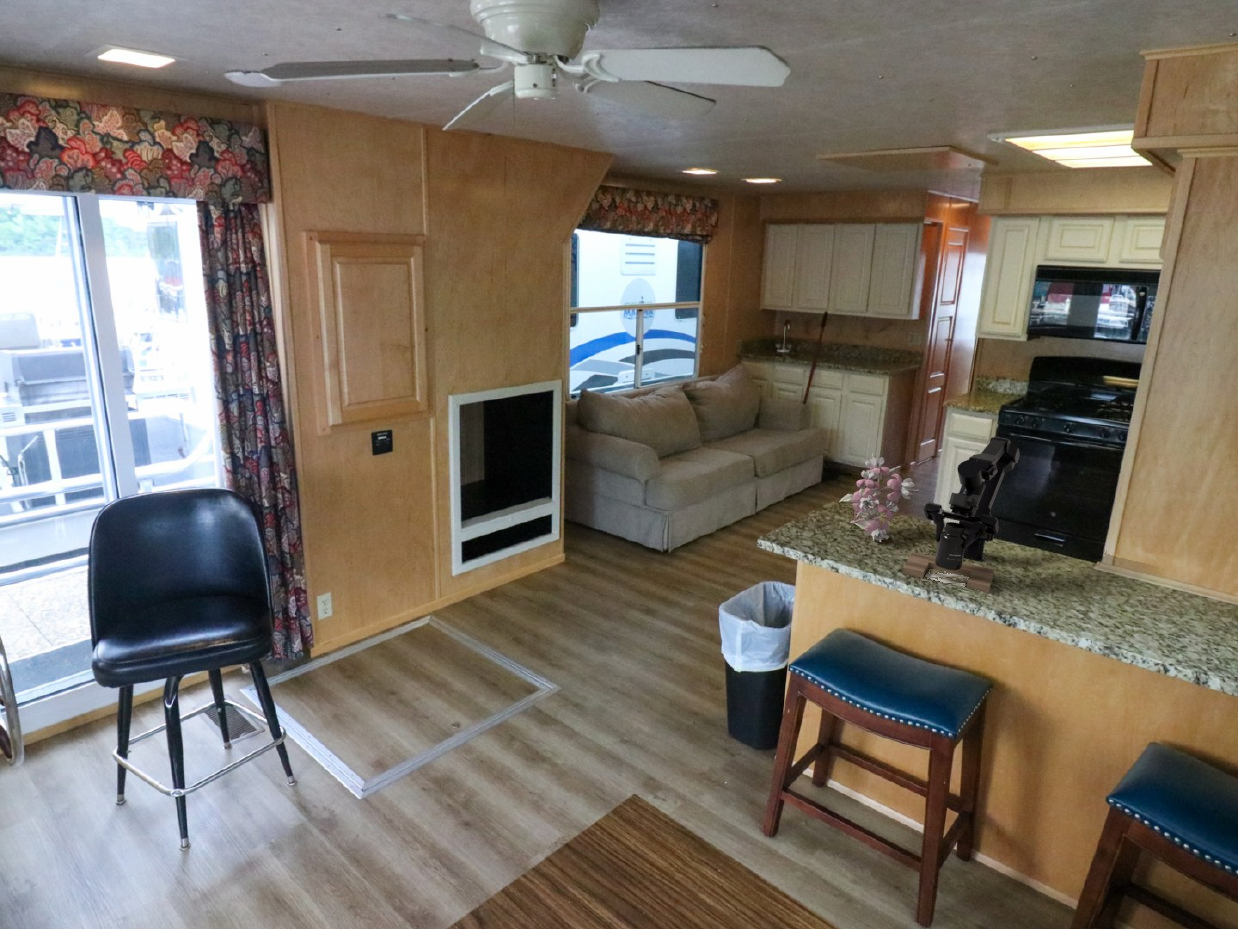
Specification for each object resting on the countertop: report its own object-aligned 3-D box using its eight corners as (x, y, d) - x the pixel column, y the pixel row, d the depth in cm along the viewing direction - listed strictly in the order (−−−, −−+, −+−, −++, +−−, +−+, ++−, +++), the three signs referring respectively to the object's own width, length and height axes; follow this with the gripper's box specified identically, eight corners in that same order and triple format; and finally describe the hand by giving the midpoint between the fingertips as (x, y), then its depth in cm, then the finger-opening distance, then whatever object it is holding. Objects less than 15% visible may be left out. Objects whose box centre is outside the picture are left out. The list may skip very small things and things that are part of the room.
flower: (813, 526, 244) (852, 466, 231) (839, 503, 262) (877, 446, 248) (867, 566, 237) (910, 506, 224) (890, 539, 255) (932, 482, 241)
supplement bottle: (952, 573, 206) (959, 531, 203) (929, 564, 211) (936, 523, 208) (966, 567, 210) (973, 526, 206) (944, 559, 215) (950, 518, 212)
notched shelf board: (911, 558, 225) (912, 552, 225) (993, 575, 215) (994, 569, 214) (902, 574, 214) (903, 567, 213) (988, 593, 203) (989, 586, 202)
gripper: (930, 474, 213) (911, 521, 208) (1003, 488, 201) (984, 539, 196) (936, 495, 221) (917, 541, 216) (1006, 510, 209) (988, 559, 204)
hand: (950, 544), depth 208 cm, fingers closed on supplement bottle, 7 cm apart
